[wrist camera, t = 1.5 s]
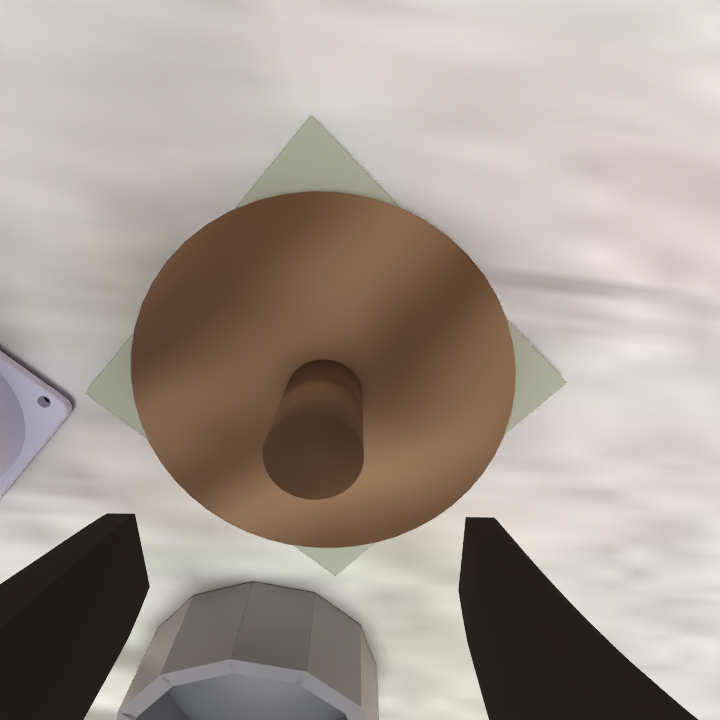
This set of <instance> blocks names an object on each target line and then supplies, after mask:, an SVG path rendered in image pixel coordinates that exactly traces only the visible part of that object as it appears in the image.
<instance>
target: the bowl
mask: <svg viewBox="0 0 720 720" xmlns="http://www.w3.org/2000/svg"><path fill="white" fill-rule="evenodd" d="M117 720H379V707H378V684H377V666H376V663H375V661H374V658H373V656H372V653H371V651H370V648H369V645H368V643H367V640H366V638H365V635H364V633H363V630H362V628H361V625H360V624H358V623H357V622H355V621H354V620H353V619H351V618H350V617H348V616H347V615H345V614H344V613H343V612H341V611H340V610H338V609H337V608H336V607H334V606H333V605H331V604H330V603H328V602H327V601H326V600H324V599H323V598H321V597H320V596H319V595H317V594H316V593H312V592H307V591H301V590H296V589H290V588H285V587H279V586H274V585H268V584H263V583H257V582H249V583H245V584H241V585H236V586H232V587H228V588H224V589H220V590H215V591H211V592H207V593H203V594H198V595H194V596H193V597H192V598H190V599H189V600H188V601H187V602H186V603H185V604H184V605H183V606H182V607H181V608H180V609H179V610H178V611H176V612H175V613H174V614H173V615H172V616H171V617H170V618H169V619H168V620H167V621H166V622H165V623H163V624H162V625H161V626H160V627H159V628H158V629H157V631H156V633H155V635H154V637H153V639H152V641H151V643H150V645H149V647H148V650H147V652H146V654H145V656H144V658H143V660H142V662H141V664H140V666H139V668H138V671H137V673H136V675H135V677H134V679H133V681H132V683H131V685H130V687H129V690H128V692H127V694H126V696H125V698H124V700H123V702H122V704H121V706H120V708H119V711H118V715H117Z"/></svg>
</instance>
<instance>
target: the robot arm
mask: <svg viewBox="0 0 720 720" xmlns="http://www.w3.org/2000/svg"><path fill="white" fill-rule="evenodd" d="M44 396H45V397H47V398H48V399H49V400H50V403H51V404H50V403H48V402H46V401H45V399H44ZM71 411H72V405H71V403H70V401H69V400H68V399H67V398H65V397H64V396H63V395H61V394H60V393H59V392H57V391H56V390H54V389H53V388H52V387H50V386H49V385H47V384H46V383H45V382H43V381H42V380H40V379H39V378H38V377H36V376H35V375H33V374H32V373H31V372H29V371H28V370H26V369H25V368H24V367H22V366H21V365H20V364H18V363H17V362H15V361H14V360H13V359H11V358H10V357H8V356H7V355H6V354H4V353H3V352H1V351H0V499H1V497H2V496H3V495H4V494H5V493H6V491H7V490H8V489H9V488H10V486H11V485H12V484H13V483H14V482H15V480H16V479H17V478H18V477H19V475H20V474H21V473H22V472H23V471H24V469H25V468H26V467H27V466H28V464H29V463H30V462H31V461H32V460H33V458H34V457H35V456H36V455H37V453H38V452H39V451H40V450H41V449H42V447H43V446H44V445H45V444H46V442H47V441H48V440H49V439H50V438H51V436H52V435H53V434H54V433H55V431H56V430H57V429H58V428H59V427H60V425H61V424H62V423H63V422H64V420H65V419H66V418H67V417H68V416H69V414H70V413H71ZM149 587H150V586H149V581H148V576H147V571H146V566H145V561H144V556H143V552H142V547H141V542H140V537H139V532H138V527H137V522H136V517H135V514H106V515H104V516H102V517H101V518H99V519H97V520H96V521H94V522H93V523H91V524H89V525H88V526H86V527H85V528H83V529H82V530H80V531H79V532H77V533H76V534H74V535H73V536H71V537H70V538H68V539H67V540H65V541H64V542H62V543H61V544H59V545H58V546H56V547H55V548H54V549H52V550H51V551H49V552H48V553H46V554H45V555H43V556H42V557H40V558H39V559H37V560H36V561H34V562H33V563H31V564H30V565H28V566H27V567H25V568H24V569H22V570H21V571H19V572H18V573H16V574H15V575H13V576H12V577H10V578H9V579H7V580H6V581H4V582H3V583H1V584H0V720H83V719H84V718H85V716H86V714H87V712H88V710H89V709H90V707H91V705H92V703H93V701H94V700H95V698H96V696H97V694H98V692H99V691H100V689H101V687H102V685H103V683H104V682H105V680H106V678H107V676H108V674H109V673H110V671H111V669H112V667H113V665H114V663H115V662H116V660H117V658H118V656H119V654H120V652H121V651H122V649H123V647H124V645H125V643H126V641H127V639H128V637H129V635H130V633H131V631H132V628H133V626H134V624H135V622H136V619H137V617H138V615H139V612H140V610H141V607H142V605H143V602H144V600H145V597H146V595H147V592H148V590H149ZM459 596H460V602H461V608H462V615H463V620H464V626H465V631H466V637H467V642H468V646H469V649H470V653H471V657H472V660H473V664H474V667H475V671H476V675H477V678H478V682H479V685H480V689H481V692H482V696H483V700H484V703H485V707H486V710H487V714H488V717H489V720H698V719H697V718H695V717H694V716H693V715H692V714H690V713H689V712H688V711H687V710H686V709H684V708H683V707H682V706H681V705H680V704H678V703H677V702H676V701H675V700H674V699H673V698H671V697H670V696H669V695H668V694H667V693H666V692H665V691H663V690H662V689H661V688H660V687H659V686H658V685H656V684H655V683H654V682H653V681H652V680H651V679H650V678H648V677H647V676H646V675H645V674H644V673H643V672H642V671H640V670H639V669H638V668H637V667H636V666H635V665H634V664H633V663H631V662H630V661H629V660H628V659H627V658H626V657H625V656H624V655H623V654H622V653H621V652H619V651H618V650H617V649H616V648H615V647H614V646H613V645H612V644H611V643H610V642H609V641H608V640H607V639H606V638H605V637H604V636H603V635H602V634H601V633H600V632H599V631H598V630H597V629H596V628H595V627H594V626H593V625H592V624H591V623H590V622H589V621H588V620H587V619H586V618H585V617H584V616H583V615H582V614H581V613H580V612H579V611H578V610H577V609H576V608H575V607H574V606H573V605H572V604H571V603H570V602H569V601H568V600H567V599H566V597H565V596H564V595H563V594H562V593H561V592H560V591H559V590H558V589H557V588H556V587H555V586H554V585H553V584H552V583H551V581H550V580H549V579H548V578H547V577H546V576H545V575H544V574H543V573H542V572H541V570H540V569H539V568H538V567H537V566H536V565H535V564H534V563H533V561H532V560H531V559H530V558H529V557H528V556H527V555H526V553H525V552H524V551H523V550H522V549H521V548H520V547H519V545H518V544H517V543H516V542H515V541H514V540H513V538H512V537H511V536H510V535H509V534H508V533H507V531H506V530H505V529H504V528H503V527H502V526H501V524H500V523H499V522H498V521H497V520H496V519H495V518H480V517H466V521H465V531H464V541H463V551H462V561H461V571H460V581H459Z"/></svg>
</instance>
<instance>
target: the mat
mask: <svg viewBox="0 0 720 720" xmlns="http://www.w3.org/2000/svg"><path fill="white" fill-rule="evenodd" d="M310 191H320V192H341V193H348V194H353V195H358V196H364V197H369V198H373V199H376V200H379V201H382V202H385V203H388V204H391V205H394V206H397V207H399V206H398V205H397V204H396V203H395V202H394V201H393V200H392V199H391V198H390V197H389V196H388V195H387V194H386V193H385V191H384V190H383V189H382V188H381V187H380V186H379V185H378V184H377V183H376V182H375V181H374V180H373V179H372V178H371V177H370V176H369V175H368V174H367V173H366V172H365V171H364V170H363V168H362V167H361V166H360V165H359V164H358V163H357V162H356V161H355V160H354V159H353V158H352V157H351V156H350V155H349V154H348V153H347V152H346V151H345V150H344V149H343V148H342V147H341V145H340V144H339V143H338V142H337V141H336V140H335V139H334V138H333V137H332V136H331V135H330V134H329V133H328V132H327V131H326V130H325V129H324V128H323V127H322V126H321V125H320V124H319V123H318V121H317V120H316V119H315V118H314V117H313V116H312V115H311V117H310V118H309V119H308V120H307V121H306V123H305V124H304V125H303V126H302V128H301V129H300V130H299V131H298V132H297V134H296V135H295V136H294V137H293V139H292V140H291V141H290V142H289V143H288V145H287V146H286V147H285V148H284V150H283V151H282V152H281V153H280V155H279V156H278V157H277V158H276V159H275V161H274V162H273V163H272V164H271V166H270V167H269V168H268V169H267V170H266V172H265V173H264V174H263V175H262V177H261V178H260V179H259V180H258V181H257V183H256V184H255V185H254V186H253V188H252V189H251V190H250V191H249V192H248V194H247V195H246V196H245V197H244V199H243V200H242V201H241V202H240V204H239V205H238V206H237V207H236V208H235V209H237V208H239V207H242V206H244V205H247V204H249V203H252V202H254V201H257V200H261V199H265V198H269V197H274V196H278V195H282V194H289V193H299V192H310ZM399 208H400V207H399ZM507 322H508V326H509V330H510V334H511V338H512V341H513V347H514V356H515V365H516V378H515V395H514V400H513V406H512V412H511V416H510V419H509V422H508V425H507V428H506V431H505V434H506V433H507V432H508V431H510V430H511V429H512V428H513V427H514V426H516V425H517V424H518V423H519V422H520V421H522V420H523V419H524V418H525V417H526V416H528V415H529V414H530V413H531V412H532V411H534V410H535V409H536V408H537V407H538V406H540V405H541V404H542V403H543V402H544V401H546V400H547V399H548V398H549V397H550V396H552V395H553V394H554V393H555V392H556V391H558V390H559V389H560V388H561V387H562V386H564V385H565V384H566V383H567V382H566V381H565V380H564V379H563V377H562V376H561V375H560V374H559V373H558V372H557V371H556V370H555V369H554V368H553V367H552V366H551V365H550V364H549V363H548V362H547V361H546V360H545V359H544V358H543V357H542V356H541V354H540V353H539V352H538V351H537V350H536V349H535V348H534V347H533V346H532V345H531V344H530V343H529V342H528V341H527V340H526V339H525V338H524V337H523V336H522V335H521V334H520V333H519V331H518V330H517V329H516V328H515V327H514V326H513V325H512V324H511V323H510V322H509V321H508V320H507ZM133 335H134V333H133ZM133 335H132V336H131V337H130V338H129V339H128V341H127V342H126V343H125V344H124V346H123V347H122V348H121V349H120V350H119V352H118V353H117V354H116V355H115V357H114V358H113V359H112V360H111V361H110V363H109V364H108V365H107V366H106V368H105V369H104V370H103V371H102V373H101V374H100V375H99V376H98V377H97V379H96V380H95V381H94V382H93V384H92V385H91V386H90V387H89V388H88V390H87V391H86V392H85V394H86V395H88V396H89V397H91V398H92V399H93V400H95V401H96V402H97V403H99V404H100V405H102V406H103V407H104V408H106V409H107V410H108V411H110V412H111V413H112V414H114V415H115V416H117V417H118V418H119V419H121V420H122V421H123V422H125V423H126V424H128V425H129V426H130V427H132V428H133V429H134V430H136V431H137V432H139V433H140V434H141V435H143V436H144V437H145V438H147V436H146V434H145V431H144V429H143V427H142V425H141V422H140V419H139V415H138V412H137V408H136V405H135V401H134V396H133V389H132V381H131V348H132V342H133ZM505 434H504V435H505ZM147 439H148V438H147ZM373 544H374V543H371V544H365V545H360V546H354V547H340V548H314V547H304V546H297V545H293V546H295V547H296V548H298V549H299V550H300V551H302V552H303V553H304V554H306V555H307V556H309V557H310V558H311V559H313V560H314V561H315V562H317V563H318V564H320V565H321V566H322V567H324V568H325V569H326V570H328V571H329V572H331V573H332V574H333V575H335V576H336V575H337V574H339V573H340V572H341V571H342V570H343V569H345V568H346V567H347V566H348V565H349V564H350V563H352V562H353V561H354V560H355V559H356V558H358V557H359V556H360V555H361V554H362V553H364V552H365V551H366V550H367V549H368V548H370V547H371V546H372V545H373Z"/></svg>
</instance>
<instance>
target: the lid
mask: <svg viewBox="0 0 720 720" xmlns="http://www.w3.org/2000/svg"><path fill="white" fill-rule="evenodd" d="M515 378H516V365H515V356H514V347H513V341H512V338H511V334H510V330H509V326H508V322H507V319H506V317H505V314H504V312H503V310H502V307H501V305H500V302H499V300H498V298H497V296H496V294H495V293H494V291H493V289H492V288H491V286H490V284H489V283H488V281H487V279H486V278H485V276H484V274H483V273H482V272H481V271H480V270H479V268H478V267H477V266H476V265H475V263H474V262H473V261H472V260H471V258H470V257H469V256H468V255H467V254H466V253H465V252H464V251H463V250H462V249H461V248H460V247H459V246H458V245H456V244H455V243H454V242H453V241H452V240H451V239H450V238H449V237H448V236H447V235H445V234H444V233H442V232H441V231H439V230H438V229H436V228H435V227H434V226H432V225H431V224H429V223H428V222H426V221H425V220H423V219H421V218H419V217H417V216H415V215H413V214H411V213H409V212H407V211H405V210H403V209H401V208H399V207H397V206H394V205H391V204H388V203H385V202H382V201H379V200H376V199H373V198H369V197H364V196H358V195H353V194H348V193H341V192H320V191H310V192H299V193H289V194H282V195H278V196H274V197H269V198H265V199H261V200H257V201H254V202H252V203H249V204H247V205H244V206H242V207H239V208H237V209H234V210H232V211H230V212H228V213H226V214H224V215H223V216H221V217H219V218H217V219H216V220H214V221H212V222H211V223H209V224H207V225H206V226H204V227H203V228H202V229H201V230H199V231H198V232H197V233H196V234H194V235H193V236H192V237H191V238H189V239H188V240H187V241H186V242H184V244H183V245H182V246H181V247H180V248H179V249H178V250H177V251H176V252H175V253H174V254H173V255H172V256H171V258H170V259H169V260H168V261H167V262H166V264H165V265H164V266H163V268H162V269H161V271H160V272H159V274H158V275H157V277H156V278H155V280H154V281H153V283H152V285H151V287H150V289H149V291H148V293H147V295H146V297H145V299H144V301H143V303H142V306H141V309H140V312H139V316H138V319H137V322H136V325H135V329H134V335H133V342H132V348H131V381H132V389H133V396H134V401H135V405H136V408H137V412H138V415H139V419H140V422H141V425H142V427H143V429H144V431H145V434H146V436H147V438H148V441H149V443H150V445H151V446H152V448H153V450H154V451H155V453H156V455H157V456H158V458H159V460H160V461H161V463H162V464H163V465H164V467H165V468H166V469H167V471H168V472H169V473H170V474H171V476H172V477H173V478H174V480H175V481H176V482H177V483H178V484H179V485H180V486H181V487H182V488H183V489H184V490H185V491H186V492H187V493H188V494H189V495H190V496H191V497H192V498H194V499H195V500H196V501H197V502H199V503H200V504H201V505H202V506H204V507H205V508H206V509H207V510H209V511H210V512H212V513H214V514H215V515H217V516H218V517H220V518H221V519H223V520H225V521H226V522H228V523H230V524H232V525H234V526H236V527H238V528H240V529H242V530H244V531H246V532H249V533H252V534H255V535H257V536H260V537H263V538H266V539H269V540H273V541H277V542H281V543H285V544H289V545H297V546H304V547H314V548H340V547H354V546H360V545H365V544H371V543H376V542H379V541H383V540H386V539H389V538H393V537H396V536H399V535H401V534H403V533H406V532H408V531H411V530H413V529H415V528H417V527H419V526H421V525H423V524H424V523H426V522H428V521H430V520H432V519H433V518H435V517H437V516H438V515H439V514H441V513H442V512H444V511H445V510H446V509H448V508H449V507H450V506H452V505H453V504H454V503H455V502H456V501H457V500H459V499H460V498H461V497H462V496H463V495H464V494H465V493H466V492H467V491H468V490H469V489H470V488H471V487H472V486H473V484H474V483H475V482H476V481H477V480H478V479H479V477H480V476H481V475H482V474H483V472H484V471H485V469H486V468H487V466H488V465H489V463H490V462H491V460H492V459H493V457H494V455H495V453H496V451H497V449H498V447H499V445H500V443H501V441H502V439H503V437H504V434H505V431H506V428H507V425H508V422H509V419H510V416H511V412H512V406H513V400H514V395H515Z"/></svg>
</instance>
